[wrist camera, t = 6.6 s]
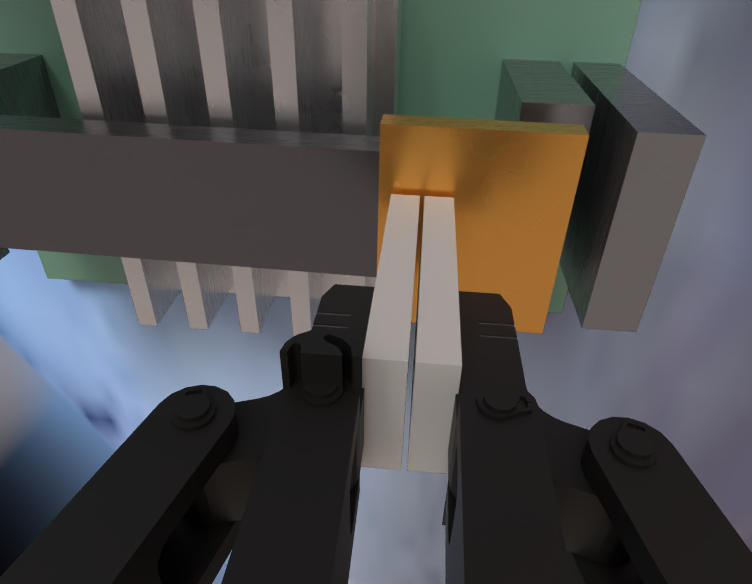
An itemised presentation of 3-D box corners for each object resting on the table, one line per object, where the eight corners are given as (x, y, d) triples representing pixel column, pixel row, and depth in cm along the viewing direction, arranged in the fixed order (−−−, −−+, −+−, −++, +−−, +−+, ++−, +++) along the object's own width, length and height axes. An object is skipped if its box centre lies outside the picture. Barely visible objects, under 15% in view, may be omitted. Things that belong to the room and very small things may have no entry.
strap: (-132, 73, 17) (-199, 91, 15) (573, 109, 15) (589, 135, 13) (-50, 247, 20) (-97, 278, 18) (534, 294, 18) (542, 333, 17)
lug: (502, 59, 20) (533, 127, 14) (619, 63, 20) (706, 135, 13) (481, 210, 24) (498, 322, 17) (581, 215, 23) (636, 331, 17)
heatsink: (115, -49, 19) (16, -38, 15) (404, -41, 19) (392, -27, 14) (177, 252, 26) (123, 323, 22) (391, 265, 25) (381, 342, 21)
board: (-75, -123, 20) (-102, -125, 19) (656, -109, 18) (669, -110, 17) (61, 265, 29) (47, 278, 28) (557, 298, 27) (561, 313, 26)
